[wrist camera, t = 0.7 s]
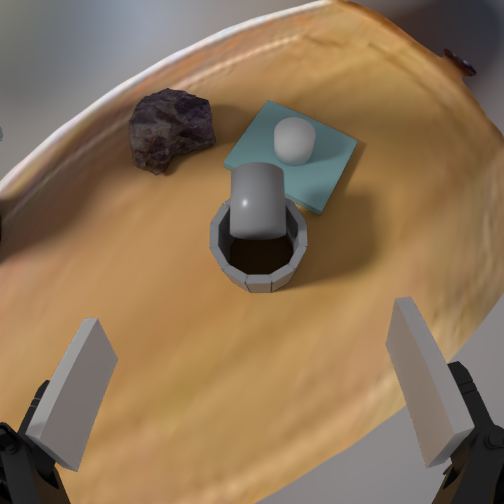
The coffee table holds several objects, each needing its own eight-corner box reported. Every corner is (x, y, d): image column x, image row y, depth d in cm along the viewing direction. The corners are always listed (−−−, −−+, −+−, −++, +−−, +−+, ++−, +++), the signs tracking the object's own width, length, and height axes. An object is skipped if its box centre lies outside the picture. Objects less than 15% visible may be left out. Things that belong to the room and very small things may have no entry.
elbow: (299, 292, 38) (313, 277, 26) (222, 292, 39) (201, 278, 27) (296, 207, 40) (306, 161, 29) (224, 209, 41) (206, 164, 29)
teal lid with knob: (224, 167, 42) (219, 146, 37) (268, 106, 44) (267, 82, 39) (319, 215, 40) (326, 199, 35) (355, 146, 42) (364, 124, 37)
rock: (220, 160, 44) (201, 108, 46) (222, 124, 36) (200, 70, 38) (139, 184, 42) (128, 129, 44) (125, 152, 34) (115, 93, 36)
